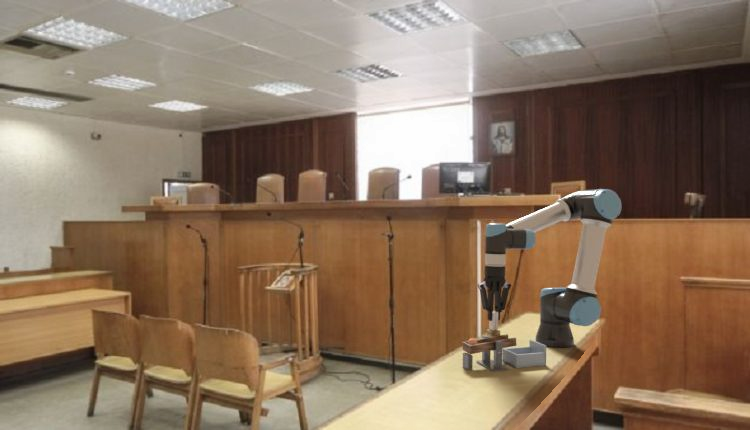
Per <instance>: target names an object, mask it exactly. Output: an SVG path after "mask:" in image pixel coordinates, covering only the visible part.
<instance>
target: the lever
mask: <svg viewBox="0 0 750 430" xmlns="http://www.w3.org/2000/svg"><path fill="white" fill-rule="evenodd" d="M486 336H490V337H489V338H483V339H482V338H479V339H476V340H477V342H478V344H475V345H470V344H468V340H467V341H462V343H461V344H462V345H461V346H462V351H464V353H469V354H471V355H473V354H478V353H479V354H480V353H482V352H485V351H490V352H492V350H494V341H502V349H505V348H513V347H517V337H510V338H509V334H507V333H506V334H501V330H500V329H498V330H491V329H489V328H488V329H486Z"/></svg>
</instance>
